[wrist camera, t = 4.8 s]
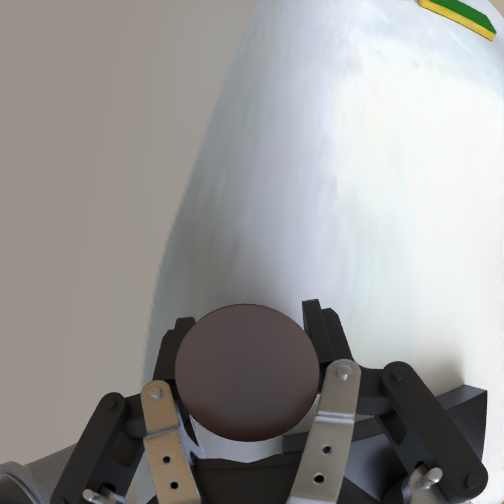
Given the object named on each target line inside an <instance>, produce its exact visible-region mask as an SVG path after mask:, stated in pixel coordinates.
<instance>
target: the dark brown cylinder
mask: <svg viewBox="0 0 504 504" xmlns="http://www.w3.org/2000/svg"><path fill="white" fill-rule="evenodd" d="M175 382H176V386H177V390H178V393H179V396H180V398H181V400H182V402H183V404H184V406H185V408H186V409H187V411H188V412H189V413H190V415H191V416H192V417H193V418H194V419H195V420H196V421H197V422H198V423H199V424H200V425H202V426H203V427H204V428H206V429H207V430H209V431H210V432H212V433H214V434H216V435H218V436H221V437H224V438H226V439H230V440H235V441H242V442H257V441H263V440H268V439H271V438H274V437H277V436H279V435H282V434H283V433H285V432H287V431H289V430H290V429H292V428H293V427H294V426H296V425H297V424H298V423H299V422H300V421H301V420H302V419H303V418H304V417H305V415H306V414H307V413H308V411H309V410H310V408H311V407H312V405H313V403H314V401H315V398H316V396H317V393H318V388H319V383H320V365H319V360H318V356H317V353H316V350H315V348H314V346H313V344H312V342H311V340H310V338H309V337H308V335H307V334H306V333H305V331H304V330H303V329H302V328H301V327H300V326H299V325H298V324H297V323H296V322H295V321H293V320H292V319H291V318H289V317H288V316H286V315H285V314H283V313H281V312H279V311H277V310H275V309H272V308H269V307H266V306H261V305H256V304H235V305H230V306H225V307H223V308H220V309H217V310H215V311H213V312H211V313H209V314H207V315H206V316H204V317H203V318H201V319H200V320H199V321H198V322H196V323H195V324H194V325H193V326H192V328H191V329H190V330H189V331H188V332H187V334H186V335H185V337H184V338H183V340H182V342H181V344H180V347H179V349H178V353H177V356H176V362H175Z"/></svg>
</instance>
